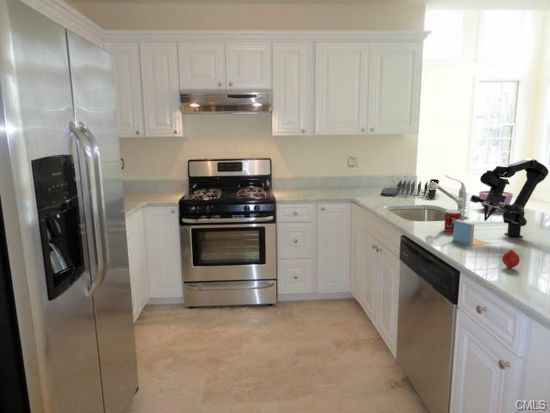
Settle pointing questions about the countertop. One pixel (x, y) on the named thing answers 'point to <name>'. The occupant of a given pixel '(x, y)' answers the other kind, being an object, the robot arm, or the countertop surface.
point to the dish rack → (407, 186)
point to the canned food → (451, 219)
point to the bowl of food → (507, 201)
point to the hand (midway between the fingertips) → (485, 220)
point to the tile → (463, 232)
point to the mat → (478, 242)
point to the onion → (510, 259)
